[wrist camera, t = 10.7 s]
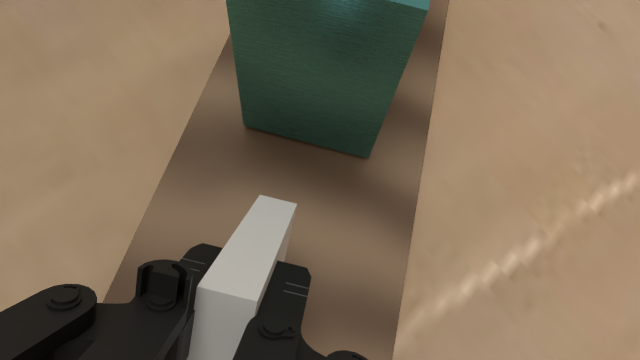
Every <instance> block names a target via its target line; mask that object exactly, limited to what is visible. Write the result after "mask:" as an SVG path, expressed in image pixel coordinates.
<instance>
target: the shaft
mask: <svg viewBox="0 0 640 360" xmlns="http://www.w3.org/2000/svg"><path fill="white" fill-rule="evenodd" d="M226 4H227V11H228V18H229V25H230V32H231V40H232V47H233V54H234V61H235V68H236V75H237V82H238V89H239V96H240V104H241V111H242V118H243V125H244V126H247V127H251V128H255V129H259V130H262V131H266V132H270V133H274V134H278V135H281V136H285V137H289V138H293V139H296V140H300V141H304V142H308V143H312V144H315V145H319V146H323V147H327V148H331V149H334V150H338V151H342V152H346V153H350V154H353V155H357V156H361V157H365V158H369V156H370V154H371V151H372V149H373V146H374V144H375V141H376V139H377V136H378V134H379V131H380V129H381V126H382V124H383V122H384V119H385V117H386V114H387V112H388V109H389V107H390V104H391V102H392V99H393V97H394V94H395V92H396V89H397V87H398V84H399V82H400V79H401V77H402V74H403V72H404V69H405V67H406V65H407V62H408V60H409V57H410V55H411V52H412V50H413V47H414V45H415V42H416V40H417V37H418V35H419V32H420V30H421V27H422V25H423V22H424V20H425V17H426V15H427V13H428V9H429V4H430V0H226Z"/></svg>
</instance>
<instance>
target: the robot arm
mask: <svg viewBox="0 0 640 360" xmlns="http://www.w3.org/2000/svg"><path fill="white" fill-rule="evenodd" d="M296 207H297V204H296V203H292V202H288V201H284V200H280V199H276V198H272V197H267V196H263V195H259V197H258V198H257V200H256V201H255V202H254V204H253V205H252V207H251V208H250V210H249V211H248V213H247V214H246V216H245V217H244V219H243V220H242V221H241V223H240V224H239V226H238V227H237V229H236V230H235V232H234V233H233V235H232V236H231V238H230V239H229V240H228V242H227V243H226V245H225V246H224V248H221V247H217V246H213V245H209V244H205V243H201V244H199V245H196V246H194V247H192V248H190V249H189V250H188V251H187V252H186V254H185V255H184V256H183V258H182V259H181V260H180V261H179V262H178V261H174V260H167V259H162V260H153V261H150V262H146V263H144V264H142V265H141V266H139V267H138V270H137V281H136V292H135V297H134V298H133V299H132V300H131V301H130V302H129V303H119V304H113V303H97V297H96V294H95V292H94V291H93V290H92V289H90V288H89V287H86V286H83V285H79V284H63V285H57V286H53V287H50V288H47V289H45V290H42V291H40V292H38V293H37V294H35V295H33V296H31V297H29V298H27V299H25V300H23V301H21V302H19V303H17V304H15V305H13V306H11V307H9V308H8V309H6V310H4V311H2V312H0V360H368V359H367V358H366V357H364V356H362V355H360V354H358V353H356V352H352V351H347V350H341V351H335V352H333V353H331V354H328V356H327V357H325V356H324V355H322V354H320V353H318V352H317V351H315V350H313V349H312V348H311V347H310V346H309V345H308V344H307V343H306V342H305V340H304V339H303V337H302V334H301V325H302V320H303V315H304V311H305V306H306V301H307V297H308V292H309V287H310V283H311V275H310V273H309V271H308V269H307V268H306V267H302V266H298V265H294V264H290V263H286V262H284V261H285V256H286V252H287V247H288V243H289V238H290V234H291V229H292V225H293V220H294V216H295V211H296Z"/></svg>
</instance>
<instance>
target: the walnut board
mask: <svg viewBox="0 0 640 360" xmlns="http://www.w3.org/2000/svg"><path fill="white" fill-rule="evenodd" d="M448 3H449V0H430V4H429V9H428V13H427V15H426V17H425V20H424V22H423V25H422V27H421V30H420V32H419V35H418V37H417V40H416V42H415V45H414V47H413V50H412V52H411V55H410V57H409V60H408V62H407V65H406V67H405V69H404V72H403V74H402V77H401V79H400V82H399V84H398V87H397V89H396V92H395V94H394V97H393V99H392V102H391V104H390V107H389V109H388V112H387V114H386V117H385V119H384V122H383V124H382V126H381V129H380V131H379V134H378V136H377V139H376V141H375V144H374V146H373V149H372V151H371V154H370V156H369V158H365V157H361V156H357V155H353V154H350V153H346V152H342V151H338V150H334V149H331V148H327V147H323V146H319V145H315V144H312V143H308V142H304V141H300V140H296V139H293V138H289V137H285V136H281V135H278V134H274V133H270V132H266V131H262V130H259V129H255V128H251V127H247V126H244V125H243V118H242V111H241V104H240V96H239V89H238V82H237V75H236V68H235V61H234V54H233V47H232V40H231V33H230V35H229V37H228V40H227V42H226V44H225V46H224V48H223V50H222V52H221V54H220V56H219V58H218V61H217V63H216V65H215V67H214V69H213V71H212V73H211V75H210V77H209V80H208V82H207V84H206V86H205V88H204V90H203V92H202V94H201V96H200V98H199V101H198V103H197V105H196V107H195V109H194V111H193V113H192V115H191V117H190V120H189V122H188V124H187V126H186V128H185V130H184V132H183V134H182V136H181V139H180V141H179V143H178V145H177V147H176V149H175V151H174V153H173V155H172V157H171V160H170V162H169V164H168V166H167V168H166V170H165V172H164V174H163V176H162V179H161V181H160V183H159V185H158V187H157V189H156V191H155V193H154V195H153V197H152V200H151V202H150V204H149V206H148V208H147V210H146V212H145V214H144V216H143V219H142V221H141V223H140V225H139V227H138V229H137V231H136V233H135V235H134V237H133V240H132V242H131V244H130V246H129V248H128V250H127V252H126V254H125V256H124V259H123V261H122V263H121V265H120V267H119V269H118V271H117V273H116V275H115V278H114V280H113V282H112V284H111V286H110V288H109V290H108V292H107V294H106V296H105V299H104V301H103V303H113V304H119V303H129V302H130V301H131V300H132V299H133V298H134V297H135V292H136V281H137V270H138V267H139V266H141V265H142V264H144V263H146V262H150V261H153V260H162V259H167V260H174V261H178V262H179V261H180V260H181V259H182V258H183V256H184V255H185V254H186V252H187V251H188V250H189V249H190V248H192V247H194V246H196V245H199V244H201V243H205V244H209V245H213V246H217V247H221V248H224V246H225V245H226V243H227V242H228V240H229V239H230V238H231V236H232V235H233V233H234V232H235V230H236V229H237V227H238V226H239V224H240V223H241V221H242V220H243V219H244V217H245V216H246V214H247V213H248V211H249V210H250V208H251V207H252V205H253V204H254V202H255V201H256V200H257V198H258V197H259V195H263V196H267V197H272V198H276V199H280V200H284V201H288V202H292V203H296V204H297V207H296V211H295V216H294V220H293V225H292V229H291V234H290V238H289V243H288V247H287V252H286V256H285V261H284V262H286V263H290V264H294V265H298V266H302V267H306V268H307V269H308V271H309V273H310V275H311V283H310V287H309V292H308V297H307V301H306V306H305V311H304V315H303V320H302V325H301V334H302V337H303V339H304V340H305V342H306V343H307V344H308V345H309V346H310V347H311V348H312V349H313V350H315V351H317V352H318V353H320V354H322V355H324V356H325V357H327V356H328V354H331V353H333V352H335V351H341V350H347V351H352V352H356V353H358V354H360V355H362V356H364V357H366V358H367V359H368V360H392V355H393V349H394V343H395V337H396V330H397V324H398V318H399V311H400V305H401V299H402V292H403V286H404V280H405V274H406V267H407V261H408V255H409V248H410V242H411V236H412V229H413V223H414V217H415V211H416V204H417V198H418V192H419V185H420V179H421V173H422V167H423V160H424V154H425V148H426V141H427V135H428V129H429V122H430V116H431V110H432V104H433V97H434V91H435V85H436V78H437V72H438V66H439V59H440V53H441V47H442V41H443V34H444V28H445V22H446V15H447V9H448Z"/></svg>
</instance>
